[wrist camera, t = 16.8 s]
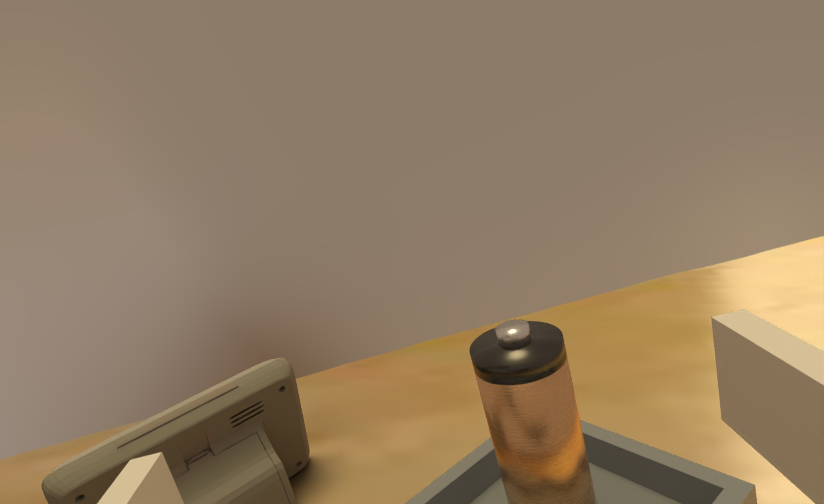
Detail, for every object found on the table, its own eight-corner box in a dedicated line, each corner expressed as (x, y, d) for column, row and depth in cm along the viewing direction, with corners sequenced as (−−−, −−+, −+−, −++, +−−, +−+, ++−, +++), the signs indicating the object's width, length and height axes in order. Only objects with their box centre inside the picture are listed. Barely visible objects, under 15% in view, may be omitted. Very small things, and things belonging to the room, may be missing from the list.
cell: (502, 545, 28) (447, 338, 25) (554, 497, 31) (510, 302, 28) (568, 595, 25) (514, 358, 22) (622, 536, 27) (579, 315, 24)
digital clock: (315, 450, 44) (276, 338, 41) (349, 509, 36) (302, 374, 33) (109, 553, 38) (48, 429, 35) (92, 653, 30) (12, 502, 27)
